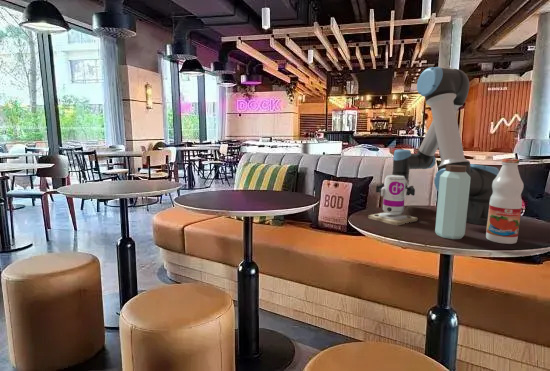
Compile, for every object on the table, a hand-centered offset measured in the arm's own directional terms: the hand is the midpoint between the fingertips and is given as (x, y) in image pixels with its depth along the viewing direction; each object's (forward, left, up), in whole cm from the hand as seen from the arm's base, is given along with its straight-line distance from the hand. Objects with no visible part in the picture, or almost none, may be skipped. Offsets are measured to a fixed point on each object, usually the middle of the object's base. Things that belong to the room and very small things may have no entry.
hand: (393, 193), depth 151 cm
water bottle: (-24, -1, -12) cm, 27 cm away
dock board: (+2, -4, -12) cm, 12 cm away
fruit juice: (-37, -11, -12) cm, 40 cm away
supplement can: (+2, -4, -9) cm, 10 cm away
